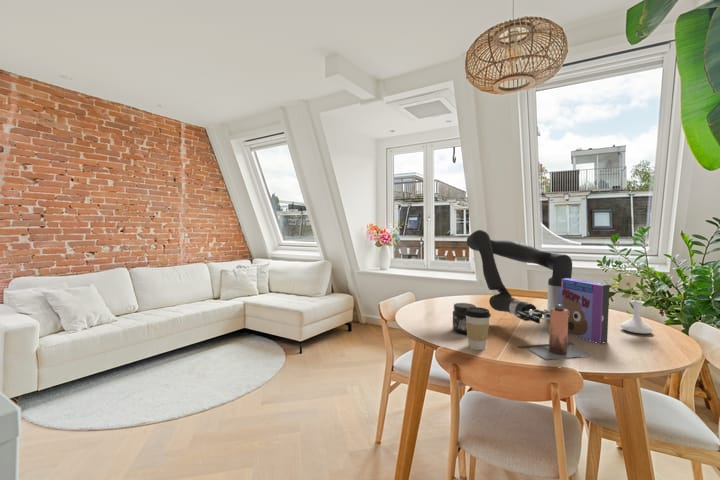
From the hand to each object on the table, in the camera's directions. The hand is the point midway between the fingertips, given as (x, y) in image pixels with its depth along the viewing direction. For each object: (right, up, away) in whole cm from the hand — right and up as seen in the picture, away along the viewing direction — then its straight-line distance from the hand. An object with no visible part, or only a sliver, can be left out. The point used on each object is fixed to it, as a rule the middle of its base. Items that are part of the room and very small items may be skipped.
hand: (548, 320), depth 137 cm
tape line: (0, -11, +3) cm, 11 cm away
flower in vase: (+49, -10, +20) cm, 54 cm away
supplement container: (-27, -10, +20) cm, 35 cm away
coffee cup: (-28, -11, +1) cm, 30 cm away
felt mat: (0, -11, -6) cm, 13 cm away
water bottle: (0, -11, -5) cm, 12 cm away
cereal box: (+22, -10, +13) cm, 27 cm away
